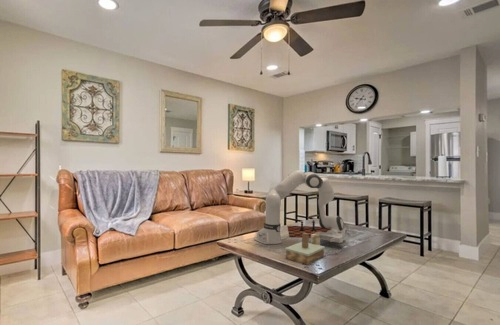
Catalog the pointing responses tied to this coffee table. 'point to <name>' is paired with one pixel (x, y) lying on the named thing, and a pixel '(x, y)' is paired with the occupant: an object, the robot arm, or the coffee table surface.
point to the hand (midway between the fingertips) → (323, 239)
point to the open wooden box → (304, 257)
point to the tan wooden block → (315, 239)
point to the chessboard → (304, 230)
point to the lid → (305, 247)
